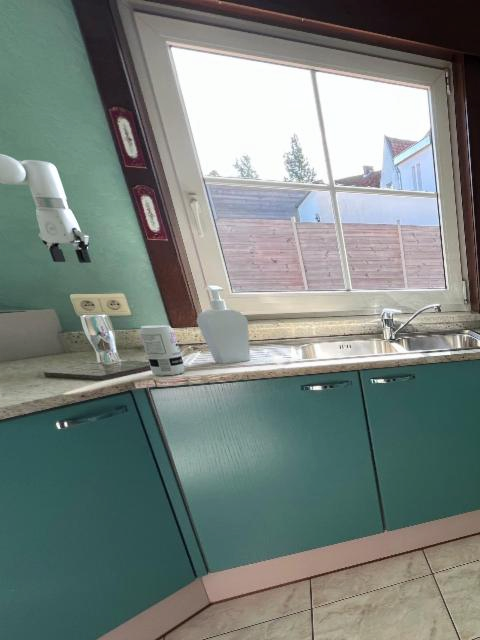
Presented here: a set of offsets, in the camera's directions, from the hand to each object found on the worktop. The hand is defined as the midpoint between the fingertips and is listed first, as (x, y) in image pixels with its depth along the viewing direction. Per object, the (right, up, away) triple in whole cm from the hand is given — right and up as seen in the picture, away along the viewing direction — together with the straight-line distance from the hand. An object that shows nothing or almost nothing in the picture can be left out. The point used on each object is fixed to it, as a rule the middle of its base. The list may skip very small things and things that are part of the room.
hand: (72, 262), depth 163 cm
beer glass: (+11, -33, +1) cm, 35 cm away
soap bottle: (+42, -30, +15) cm, 54 cm away
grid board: (+17, -37, -5) cm, 41 cm away
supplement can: (+37, -38, -5) cm, 53 cm away
